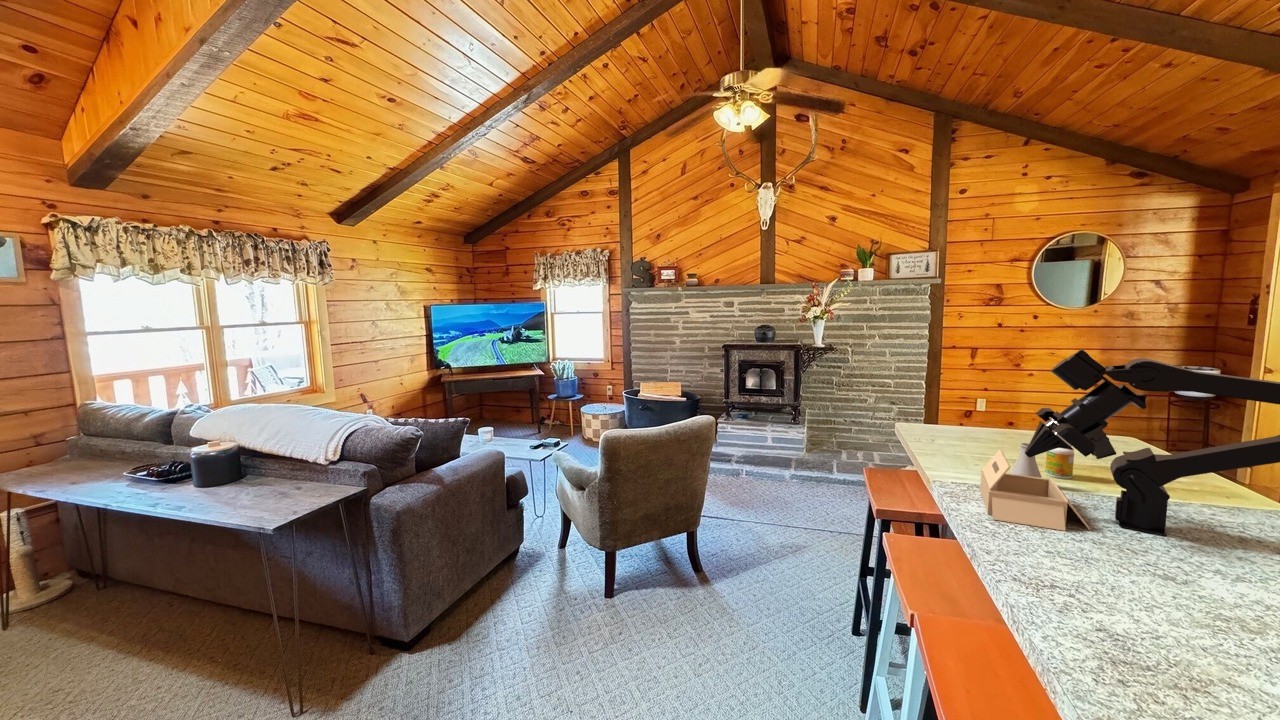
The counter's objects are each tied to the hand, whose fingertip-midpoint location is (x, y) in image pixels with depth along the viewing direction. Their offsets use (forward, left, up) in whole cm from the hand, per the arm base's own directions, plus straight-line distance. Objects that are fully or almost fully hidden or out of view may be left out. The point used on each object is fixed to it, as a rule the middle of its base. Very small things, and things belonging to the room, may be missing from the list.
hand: (1026, 455), depth 106 cm
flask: (+1, -18, -12) cm, 22 cm away
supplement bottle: (-5, -30, -12) cm, 33 cm away
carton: (-1, 0, -12) cm, 12 cm away
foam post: (+6, -5, -12) cm, 14 cm away
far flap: (+7, +1, -7) cm, 10 cm away
